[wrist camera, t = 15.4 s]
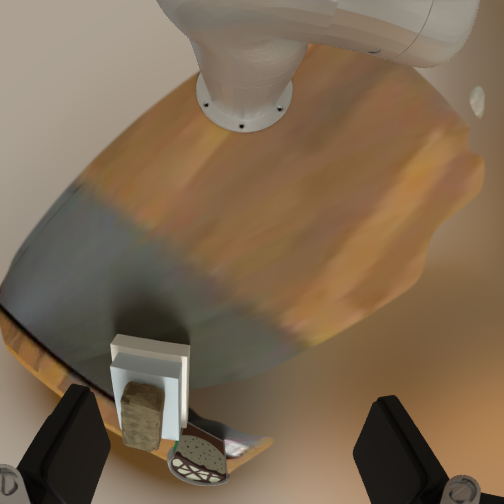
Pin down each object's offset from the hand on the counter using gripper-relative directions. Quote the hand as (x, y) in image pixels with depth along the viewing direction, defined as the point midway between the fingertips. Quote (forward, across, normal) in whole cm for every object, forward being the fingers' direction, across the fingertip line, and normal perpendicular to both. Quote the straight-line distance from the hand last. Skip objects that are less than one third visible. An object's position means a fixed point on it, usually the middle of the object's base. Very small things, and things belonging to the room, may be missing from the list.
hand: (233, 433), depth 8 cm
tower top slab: (+30, +12, +25) cm, 41 cm away
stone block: (+26, +12, +25) cm, 38 cm away
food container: (+34, +6, +40) cm, 53 cm away
